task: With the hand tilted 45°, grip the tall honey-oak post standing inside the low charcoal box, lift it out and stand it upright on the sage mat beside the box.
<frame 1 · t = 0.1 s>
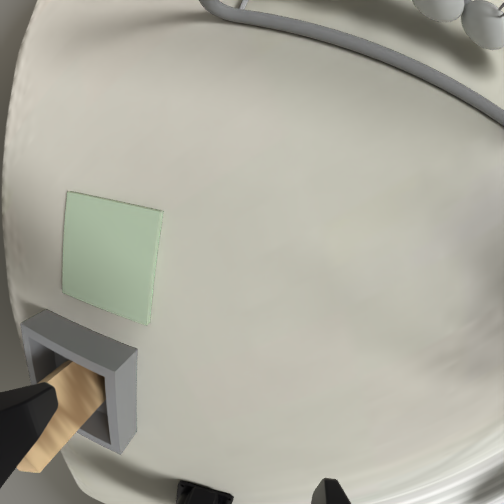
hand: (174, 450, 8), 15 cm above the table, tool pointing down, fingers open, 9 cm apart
sage mat: (107, 255, 23), on the table
oak post: (87, 376, 26), resting on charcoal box
newton's cradle: (418, 23, 16), on the table
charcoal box: (89, 374, 26), on the table
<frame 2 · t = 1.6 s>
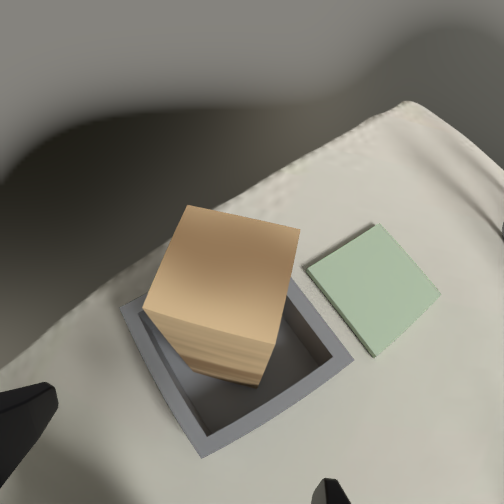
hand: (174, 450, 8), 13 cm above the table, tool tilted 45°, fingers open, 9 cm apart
sage mat: (377, 285, 25), on the table
oak post: (233, 350, 22), resting on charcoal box
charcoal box: (233, 352, 22), on the table
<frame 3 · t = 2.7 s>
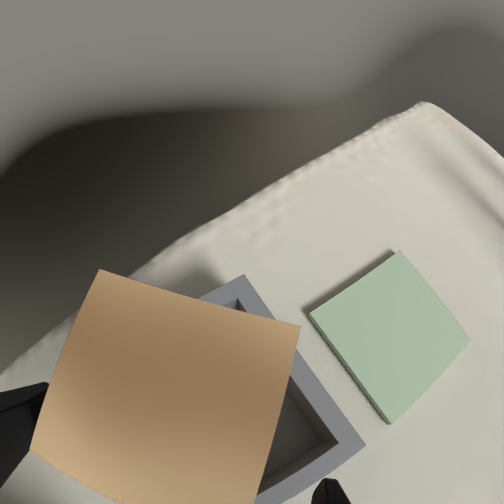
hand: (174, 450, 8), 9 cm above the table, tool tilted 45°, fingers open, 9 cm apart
sage mat: (396, 332, 19), on the table
oak post: (211, 420, 16), resting on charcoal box
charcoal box: (212, 420, 16), on the table
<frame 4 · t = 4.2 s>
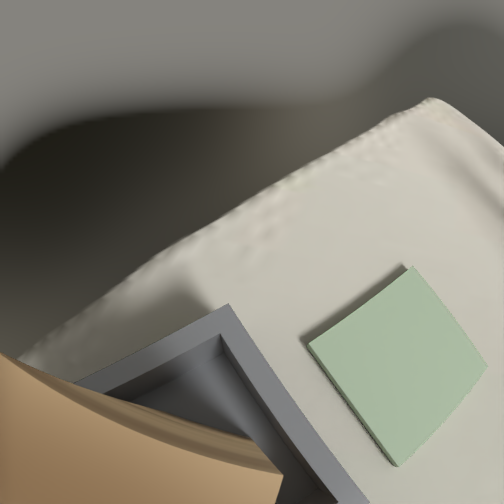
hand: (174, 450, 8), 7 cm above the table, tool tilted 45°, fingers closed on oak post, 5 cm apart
sage mat: (407, 361, 16), on the table
oak post: (193, 465, 13), resting on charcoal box, touching gripper
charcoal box: (194, 464, 13), on the table
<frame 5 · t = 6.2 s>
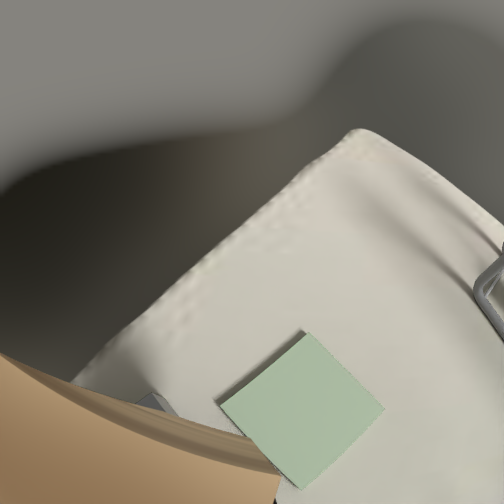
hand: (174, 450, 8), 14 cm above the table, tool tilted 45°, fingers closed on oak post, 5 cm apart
sage mat: (305, 411, 21), on the table
oak post: (193, 465, 13), point 8 cm above the table, touching gripper
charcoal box: (154, 491, 17), on the table
when the fingers open (8 cm above the table, at t = 8.4 s): oak post drops 1 cm, resting on sage mat.
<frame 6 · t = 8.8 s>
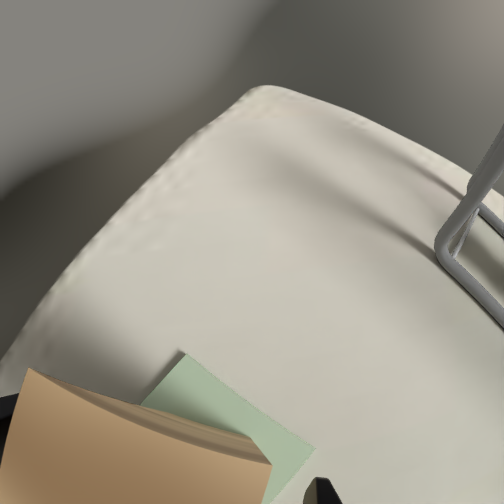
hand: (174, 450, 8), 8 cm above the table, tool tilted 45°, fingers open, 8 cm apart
sage mat: (198, 461, 14), on the table
oak post: (196, 463, 14), point 1 cm above the table, touching sage mat
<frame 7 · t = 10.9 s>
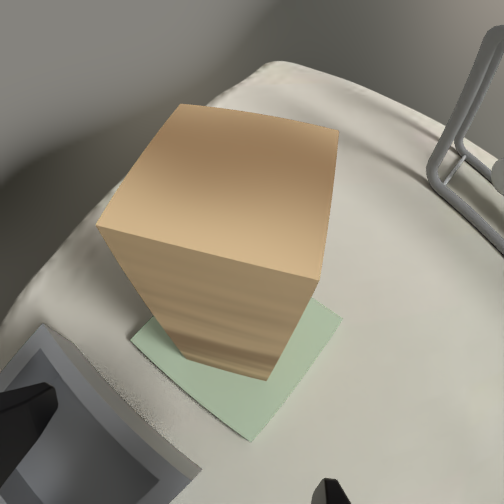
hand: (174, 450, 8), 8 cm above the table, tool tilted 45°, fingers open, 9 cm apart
sage mat: (237, 335, 18), on the table
oak post: (236, 333, 18), point 1 cm above the table, touching sage mat
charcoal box: (76, 461, 13), on the table
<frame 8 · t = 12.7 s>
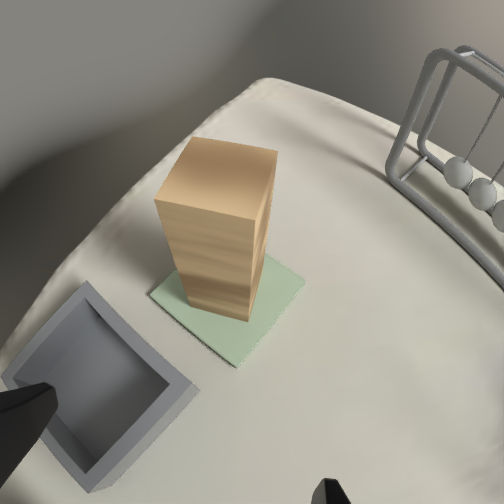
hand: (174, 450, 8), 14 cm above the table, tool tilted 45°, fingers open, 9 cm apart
sage mat: (228, 291, 25), on the table
oak post: (227, 288, 25), point 1 cm above the table, touching sage mat
newton's cradle: (486, 238, 30), on the table
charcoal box: (102, 391, 20), on the table
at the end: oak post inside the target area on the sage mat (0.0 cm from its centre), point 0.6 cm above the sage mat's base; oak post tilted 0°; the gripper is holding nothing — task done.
